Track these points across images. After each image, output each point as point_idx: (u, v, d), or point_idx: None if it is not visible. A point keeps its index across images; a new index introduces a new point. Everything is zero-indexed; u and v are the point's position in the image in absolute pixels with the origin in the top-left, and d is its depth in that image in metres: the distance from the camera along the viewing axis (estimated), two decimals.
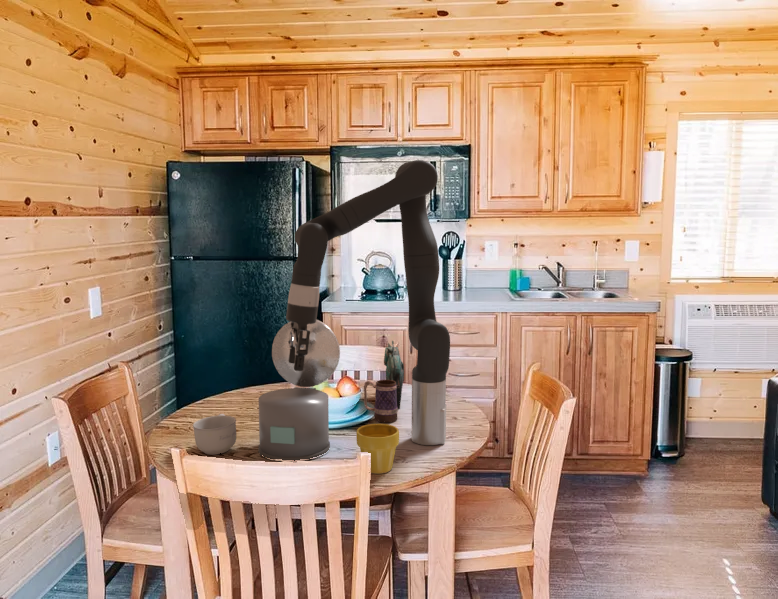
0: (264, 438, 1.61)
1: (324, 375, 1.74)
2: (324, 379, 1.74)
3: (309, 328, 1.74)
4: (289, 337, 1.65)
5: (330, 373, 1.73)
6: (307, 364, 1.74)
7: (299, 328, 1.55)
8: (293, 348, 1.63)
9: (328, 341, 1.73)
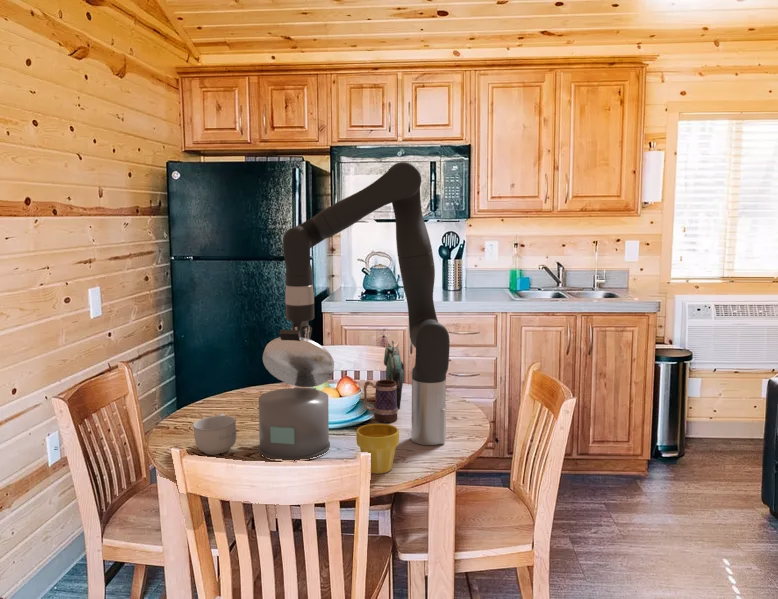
0: (264, 438, 1.61)
1: (322, 380, 1.71)
2: (322, 382, 1.72)
3: (297, 348, 1.63)
4: None
5: (327, 378, 1.71)
6: (302, 372, 1.70)
7: (292, 328, 1.66)
8: None
9: (319, 357, 1.65)
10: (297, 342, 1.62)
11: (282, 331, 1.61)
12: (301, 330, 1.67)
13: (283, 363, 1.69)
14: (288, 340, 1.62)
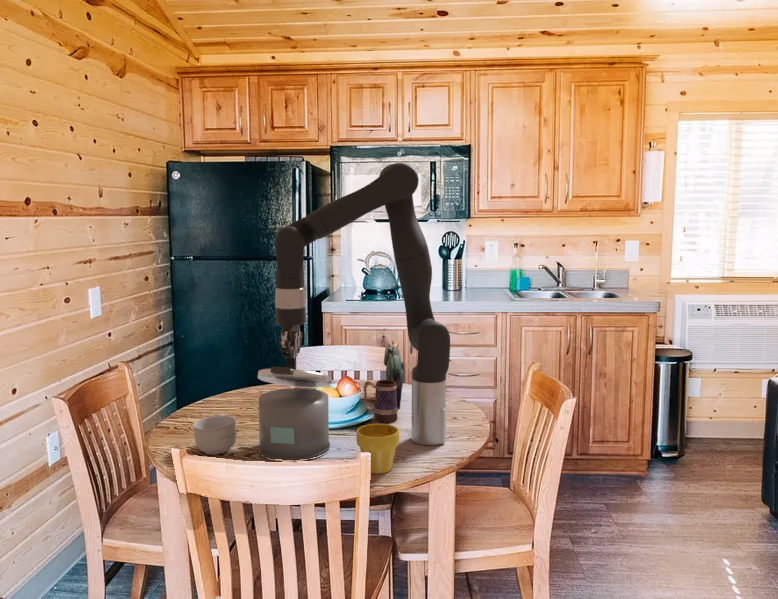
0: (264, 438, 1.61)
1: (321, 386, 1.71)
2: (322, 386, 1.72)
3: (291, 377, 1.59)
4: None
5: (326, 385, 1.70)
6: (300, 383, 1.69)
7: (282, 333, 1.58)
8: None
9: (315, 380, 1.61)
10: (290, 375, 1.57)
11: (273, 369, 1.55)
12: (291, 335, 1.59)
13: (279, 380, 1.66)
14: (281, 374, 1.57)
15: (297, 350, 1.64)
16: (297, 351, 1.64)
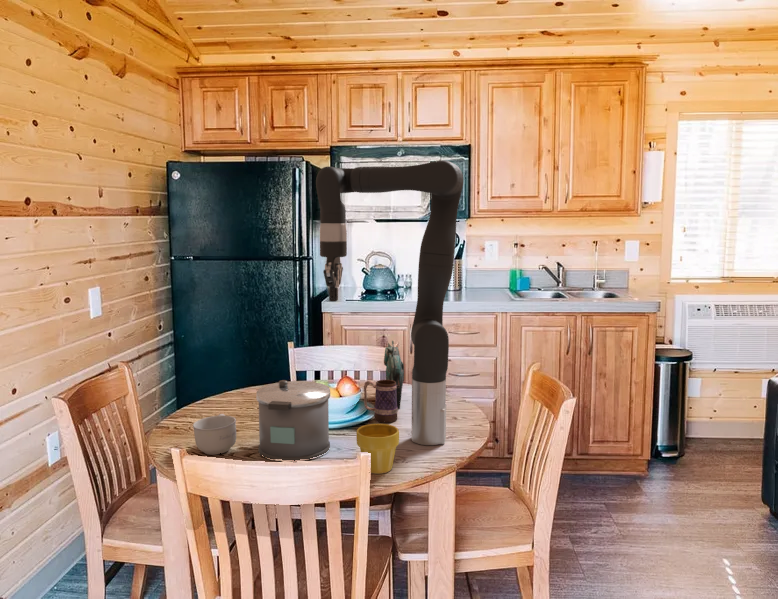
0: (264, 438, 1.61)
1: None
2: None
3: None
4: None
5: None
6: None
7: (326, 264, 1.75)
8: None
9: None
10: None
11: (271, 406, 1.54)
12: (334, 266, 1.76)
13: None
14: None
15: (338, 281, 1.81)
16: (338, 282, 1.81)
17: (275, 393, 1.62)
